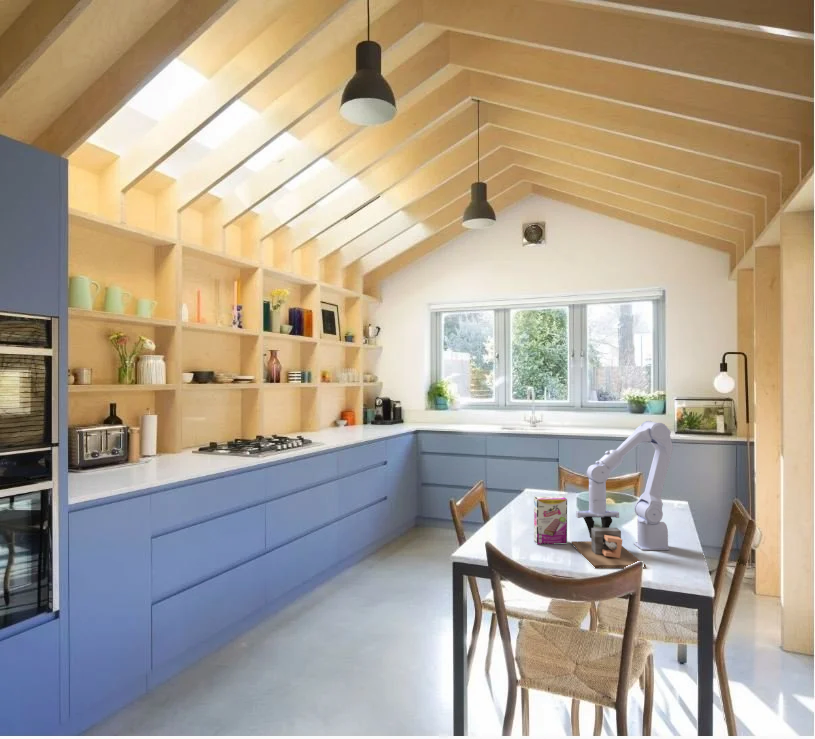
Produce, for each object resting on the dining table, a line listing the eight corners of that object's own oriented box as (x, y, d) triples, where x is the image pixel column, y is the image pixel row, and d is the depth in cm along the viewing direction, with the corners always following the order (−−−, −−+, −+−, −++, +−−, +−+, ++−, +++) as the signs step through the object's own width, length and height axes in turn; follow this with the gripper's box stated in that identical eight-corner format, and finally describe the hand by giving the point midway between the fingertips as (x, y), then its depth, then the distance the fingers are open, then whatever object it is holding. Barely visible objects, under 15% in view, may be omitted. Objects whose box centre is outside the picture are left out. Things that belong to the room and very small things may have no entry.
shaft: (601, 537, 203) (601, 527, 203) (619, 552, 186) (618, 540, 186) (591, 537, 203) (591, 527, 203) (607, 552, 186) (607, 541, 186)
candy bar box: (537, 545, 206) (536, 499, 206) (533, 541, 211) (533, 496, 211) (568, 544, 206) (567, 498, 206) (563, 540, 211) (563, 495, 211)
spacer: (601, 552, 191) (616, 554, 190) (605, 555, 187) (620, 558, 187) (604, 534, 191) (618, 536, 191) (607, 537, 187) (622, 539, 187)
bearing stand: (616, 544, 206) (615, 519, 206) (645, 568, 180) (645, 540, 180) (571, 544, 206) (571, 519, 206) (594, 568, 180) (594, 540, 180)
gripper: (580, 501, 198) (580, 541, 198) (622, 501, 198) (622, 541, 198) (574, 497, 205) (574, 535, 205) (615, 497, 205) (615, 535, 205)
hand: (597, 538), depth 202 cm, fingers closed on shaft, 4 cm apart
